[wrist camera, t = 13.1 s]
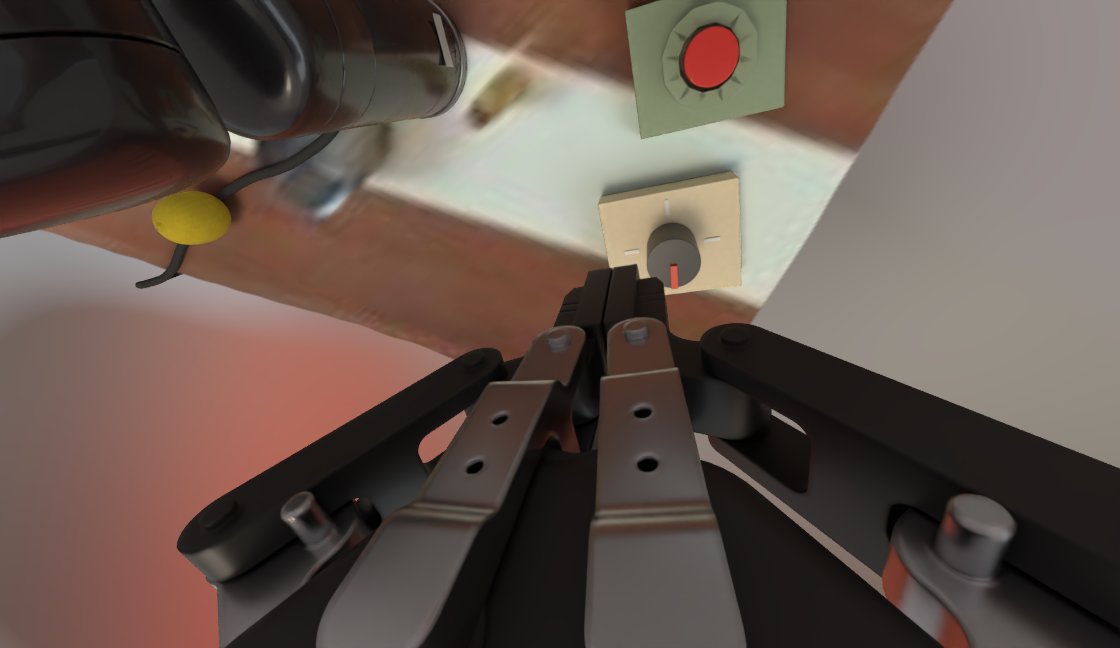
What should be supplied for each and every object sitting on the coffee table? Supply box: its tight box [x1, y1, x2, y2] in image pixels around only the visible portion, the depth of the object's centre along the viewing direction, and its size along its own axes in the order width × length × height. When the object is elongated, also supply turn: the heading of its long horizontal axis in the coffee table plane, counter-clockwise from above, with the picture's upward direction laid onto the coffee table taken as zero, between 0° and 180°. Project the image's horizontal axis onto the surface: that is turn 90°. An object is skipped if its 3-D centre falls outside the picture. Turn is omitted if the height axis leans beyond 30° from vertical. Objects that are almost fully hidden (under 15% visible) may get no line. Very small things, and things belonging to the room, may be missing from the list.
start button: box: [683, 26, 739, 88], centre depth 29 cm, size 4×4×2 cm
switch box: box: [625, 0, 786, 139], centre depth 31 cm, size 11×9×4 cm
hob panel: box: [598, 171, 742, 295], centre depth 39 cm, size 12×10×3 cm
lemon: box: [152, 191, 231, 245], centre depth 45 cm, size 6×6×8 cm
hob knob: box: [647, 223, 701, 289], centre depth 36 cm, size 4×4×5 cm
